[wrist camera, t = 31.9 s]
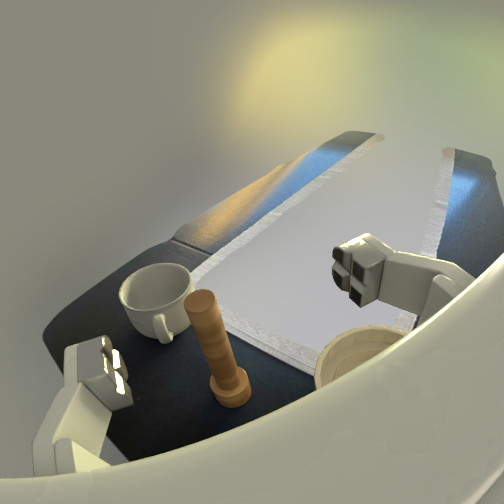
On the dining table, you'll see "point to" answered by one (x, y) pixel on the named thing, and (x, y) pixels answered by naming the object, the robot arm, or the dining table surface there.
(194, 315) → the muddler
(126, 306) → the teacup
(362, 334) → the bowl
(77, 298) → the dining table surface
